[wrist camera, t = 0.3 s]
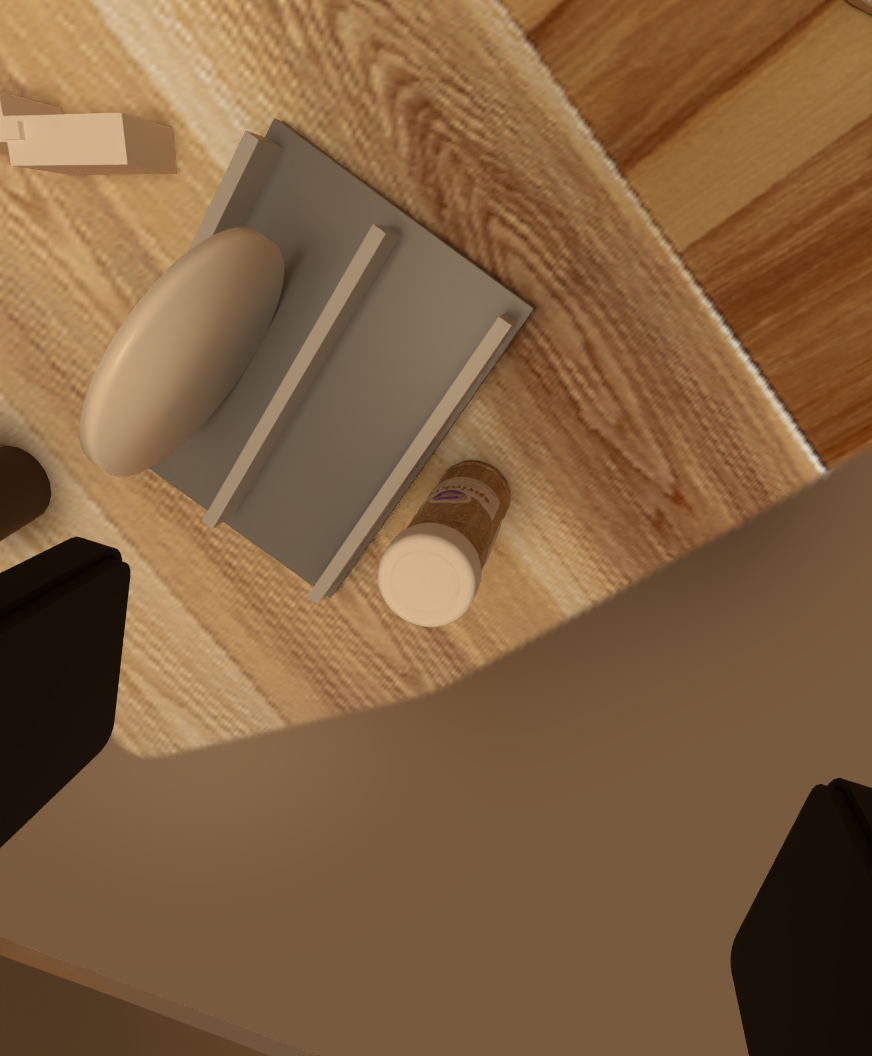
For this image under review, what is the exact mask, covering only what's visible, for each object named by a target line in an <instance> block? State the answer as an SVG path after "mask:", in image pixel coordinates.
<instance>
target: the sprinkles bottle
mask: <svg viewBox="0 0 872 1056" xmlns="http://www.w3.org/2000/svg"><path fill="white" fill-rule="evenodd" d="M509 501H510V492H509V489H508V486H507V484H506V482H505V480H504V479H503V478H502V476H501V475H500V474H499V473H498V472H497V471H496V470H495V469H494V468H492V467H490V466H488V465H486V464H482V463H480V462H474V461H470V462H468V461H466V462H463V463H460V464H457V465H455V466H453V467H452V468H450V469H449V470H448V471H447V472H446V473H445V474H444V475H443V476H442V478H441V480H440V482H439V484H438V486H437V487H436V488H435V489H434V490H433V491H432V492H431V494H430V495H429V496H428V498H427V499H426V500H425V502H424V503H423V504H422V506H421V507H420V509H419V510H418V512H417V514H416V515H415V517H414V518H413V520H412V521H411V523H410V524H409V526H408V527H407V528H406V529H405V530H403V531H402V532H401V533H400V534H398V535H397V536H396V537H395V539H394V540H393V541H392V542H391V544H390V545H389V547H388V548H387V550H386V551H385V553H384V554H383V556H382V558H381V561H380V563H379V567H378V585H379V589H380V592H381V594H382V596H383V598H384V600H385V602H386V603H387V605H388V606H389V607H390V608H391V610H392V611H394V612H395V613H396V614H397V615H398V616H400V617H401V618H403V619H404V620H406V621H408V622H410V623H413V624H416V625H420V626H427V627H435V626H442V625H445V624H448V623H451V622H453V621H455V620H456V619H458V618H459V617H460V616H462V615H463V614H464V613H465V612H466V611H467V609H468V608H469V607H470V605H471V603H472V601H473V599H474V597H475V595H476V592H477V590H478V587H479V585H480V581H481V570H482V568H483V567H484V565H485V564H486V562H487V560H488V557H489V555H490V552H491V550H492V547H493V545H494V542H495V540H496V537H497V535H498V532H499V529H500V527H501V523H502V520H503V518H504V517H505V515H506V512H507V510H508V508H509Z"/></svg>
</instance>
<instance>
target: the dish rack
mask: <svg viewBox="0 0 872 1056" xmlns="http://www.w3.org/2000/svg"><path fill="white" fill-rule="evenodd" d="M534 309H535V307H534V306H533V305H531V304H530V303H528V302H527V301H526V300H524V299H523V298H522V297H520V296H519V295H518V294H516V293H515V292H514V291H512V290H511V289H509V288H508V287H507V286H505V285H504V284H503V283H501V282H500V281H499V280H497V279H496V278H495V277H493V276H492V275H490V274H489V273H488V272H486V271H485V270H484V269H482V268H481V267H480V266H478V265H477V264H476V263H474V262H473V261H471V260H470V259H469V258H467V257H466V256H465V255H463V254H462V253H461V252H459V251H458V250H457V249H455V248H454V247H452V246H451V245H450V244H448V243H447V242H446V241H444V240H443V239H442V238H440V237H439V236H437V235H436V234H435V233H433V232H432V231H431V230H429V229H428V228H427V227H425V226H424V225H423V224H421V223H420V222H418V221H417V220H416V219H414V218H413V217H412V216H410V215H409V214H408V213H406V212H405V211H404V210H402V209H401V208H399V207H398V206H397V205H395V204H394V203H393V202H391V201H390V200H389V199H387V198H386V197H385V196H383V195H382V194H380V193H379V192H378V191H376V190H375V189H374V188H372V187H371V186H370V185H368V184H367V183H366V182H364V181H363V180H361V179H360V178H359V177H357V176H356V175H355V174H353V173H352V172H351V171H349V170H348V169H347V168H345V167H344V166H342V165H341V164H340V163H338V162H337V161H336V160H334V159H333V158H332V157H330V156H329V155H327V154H326V153H325V152H323V151H322V150H321V149H319V148H318V147H317V146H315V145H314V144H313V143H311V142H310V141H308V140H307V139H306V138H304V137H303V136H302V135H300V134H299V133H298V132H296V131H295V130H294V129H292V128H291V127H289V126H288V125H287V124H285V123H284V122H282V121H280V120H278V119H275V118H274V120H273V122H272V124H271V126H270V128H269V130H268V132H267V134H266V136H265V137H262V136H260V135H257V134H254V133H251V132H248V131H245V133H244V135H243V137H242V139H241V141H240V143H239V145H238V148H237V150H236V152H235V154H234V156H233V158H232V160H231V162H230V164H229V166H228V169H227V171H226V173H225V175H224V177H223V179H222V181H221V183H220V185H219V187H218V189H217V192H216V194H215V196H214V198H213V200H212V202H211V204H210V206H209V208H208V210H207V213H206V215H205V217H204V219H203V221H202V223H201V225H200V227H199V229H198V231H197V234H196V236H195V238H194V240H193V242H192V244H191V246H190V248H189V250H188V252H187V253H185V254H184V255H183V256H182V257H181V258H180V259H179V260H177V261H176V262H175V263H174V264H173V265H172V266H171V267H170V268H169V269H168V270H167V271H166V272H165V273H164V274H163V275H162V276H161V277H160V278H159V279H158V280H157V281H156V282H155V283H154V284H153V285H152V286H151V287H150V289H149V290H148V291H147V292H146V293H145V294H144V296H143V297H142V298H141V299H140V300H139V302H138V303H137V304H136V306H135V307H134V308H133V310H132V311H131V312H130V314H129V315H128V316H127V318H126V319H125V321H124V322H123V324H122V325H121V327H120V328H119V330H118V331H117V333H116V334H115V336H114V338H113V339H112V341H111V343H110V344H109V346H108V348H107V350H106V351H105V353H104V355H103V357H102V359H101V361H100V363H99V365H98V367H97V369H96V371H95V374H94V376H93V378H92V381H91V383H90V386H89V388H88V391H87V395H86V398H85V401H84V404H83V409H82V414H81V419H80V431H79V433H80V443H81V446H82V449H83V452H84V454H85V455H86V456H87V458H88V459H89V460H91V461H92V462H94V463H95V464H96V465H98V466H99V467H101V468H102V469H103V470H105V471H106V472H108V473H109V474H110V475H114V476H117V477H125V476H130V475H134V474H137V473H139V472H142V471H144V470H146V469H148V468H149V469H151V470H152V471H153V472H155V473H156V474H158V475H159V476H160V477H162V478H163V479H165V480H166V481H167V482H169V483H170V484H172V485H173V486H174V487H176V488H177V489H179V490H180V491H181V492H183V493H184V494H185V495H187V496H188V497H190V498H191V499H192V500H194V501H195V502H197V503H198V504H199V505H201V506H202V507H204V508H205V509H206V510H208V511H207V513H206V515H205V517H204V518H203V520H202V522H204V523H205V524H206V525H208V526H209V527H211V528H212V529H213V528H215V527H216V526H218V525H219V524H221V523H222V522H225V523H226V524H227V525H229V526H230V527H232V528H233V529H234V530H236V531H237V532H239V533H240V534H241V535H243V536H244V537H246V538H247V539H248V540H250V541H251V542H252V543H254V544H255V545H257V546H258V547H259V548H261V549H262V550H264V551H265V552H266V553H268V554H269V555H271V556H272V557H273V558H275V559H276V560H278V561H279V562H280V563H282V564H283V565H285V566H286V567H287V568H289V569H290V570H292V571H293V572H294V573H296V574H297V575H299V576H300V577H301V578H303V579H304V580H306V581H307V582H308V583H310V584H311V585H313V586H314V587H313V589H312V590H311V592H310V593H309V595H308V596H307V597H308V598H310V599H311V600H313V601H314V602H315V603H317V604H319V602H320V601H321V600H322V599H323V598H324V596H325V595H326V596H328V597H329V598H331V597H332V596H333V594H334V593H335V592H336V591H337V589H338V588H339V586H340V585H341V584H342V582H343V581H344V579H345V578H346V576H347V575H348V574H349V572H350V571H351V569H352V568H353V566H354V565H355V564H356V562H357V561H358V559H359V558H360V556H361V555H362V554H363V552H364V551H365V549H366V548H367V547H368V545H369V544H370V542H371V541H372V539H373V538H374V537H375V535H376V534H377V532H378V531H379V529H380V528H381V527H382V525H383V524H384V522H385V521H386V519H387V518H388V517H389V515H390V514H391V512H392V511H393V510H394V508H395V507H396V505H397V504H398V502H399V501H400V500H401V498H402V497H403V495H404V494H405V492H406V491H407V490H408V488H409V487H410V485H411V484H412V482H413V481H414V480H415V478H416V477H417V475H418V474H419V472H420V471H421V470H422V468H423V467H424V465H425V464H426V463H427V461H428V460H429V458H430V457H431V455H432V454H433V453H434V451H435V450H436V448H437V447H438V445H439V444H440V443H441V441H442V440H443V438H444V437H445V435H446V434H447V433H448V431H449V430H450V428H451V427H452V426H453V424H454V423H455V421H456V420H457V418H458V417H459V416H460V414H461V413H462V411H463V410H464V408H465V407H466V406H467V404H468V403H469V401H470V400H471V398H472V397H473V396H474V394H475V393H476V391H477V390H478V388H479V387H480V386H481V384H482V383H483V381H484V380H485V379H486V377H487V376H488V374H489V373H490V371H491V370H492V369H493V367H494V366H495V364H496V363H497V361H498V360H499V359H500V357H501V356H502V354H503V353H504V351H505V350H506V349H507V347H508V346H509V344H510V343H511V341H512V340H513V339H514V337H515V336H516V334H517V333H518V332H519V330H520V329H521V327H522V326H523V324H524V323H525V322H526V320H527V319H528V317H529V316H530V314H531V313H532V312H533V310H534Z"/></svg>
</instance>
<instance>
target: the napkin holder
mask: <svg viewBox="0 0 872 1056" xmlns="http://www.w3.org/2000/svg"><path fill="white" fill-rule="evenodd" d="M0 154H9V156H10V162H11V166H16V167H22V168H29V169H36V170H42V171H49V172H55V173H62V174H69V175H108V174H177V167H176V156H175V146H174V135H173V128H171V127H168V126H164V125H161V124H158V123H154V122H151V121H148V120H144V119H141V118H137V117H134V116H131V115H127V114H124V113H96V114H62V108H60V107H56V106H52V105H49V104H45V103H41V102H38V101H34V100H30V99H27V98H23V97H19V96H16V95H12V94H8V93H5V92H1V91H0Z"/></svg>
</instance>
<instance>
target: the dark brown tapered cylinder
mask: <svg viewBox="0 0 872 1056" xmlns="http://www.w3.org/2000/svg"><path fill="white" fill-rule="evenodd" d="M50 497H51V490H50V482H49V480H48V477H47V475H46V472H45V470H44V469H43V468H42V466H41V465H40V463H39V462H38V461H37V460H36V459H35V458H34V457H33V456H31V455H30V454H29V453H28V452H26V451H24V450H21V449H19V448H17V447H10V446H4V447H0V541H1V540H3V539H4V538H6V537H7V536H9V535H11V534H12V533H14V532H15V531H17V530H18V529H20V528H21V527H23V526H24V525H26V524H28V523H29V522H31V521H32V520H34V519H35V518H37V517H38V516H40V515H41V514H43V513H44V512H45V510H46V508H47V507H48V505H49V502H50Z"/></svg>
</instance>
